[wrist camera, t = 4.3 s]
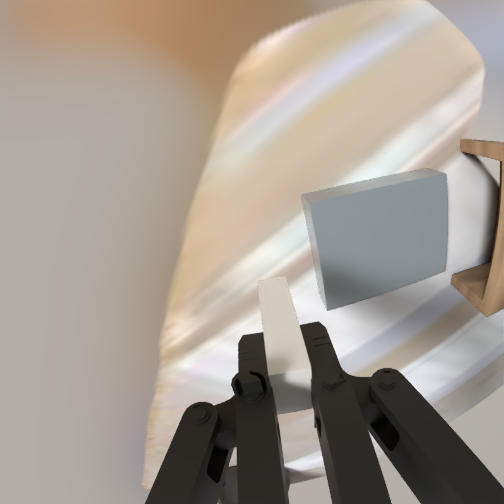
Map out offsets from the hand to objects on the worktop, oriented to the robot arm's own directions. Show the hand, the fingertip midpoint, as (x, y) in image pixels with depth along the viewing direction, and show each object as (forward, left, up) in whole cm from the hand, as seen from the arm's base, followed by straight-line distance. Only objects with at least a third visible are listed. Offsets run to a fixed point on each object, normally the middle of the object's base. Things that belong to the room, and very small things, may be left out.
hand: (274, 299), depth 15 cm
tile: (+10, 0, -8) cm, 13 cm away
